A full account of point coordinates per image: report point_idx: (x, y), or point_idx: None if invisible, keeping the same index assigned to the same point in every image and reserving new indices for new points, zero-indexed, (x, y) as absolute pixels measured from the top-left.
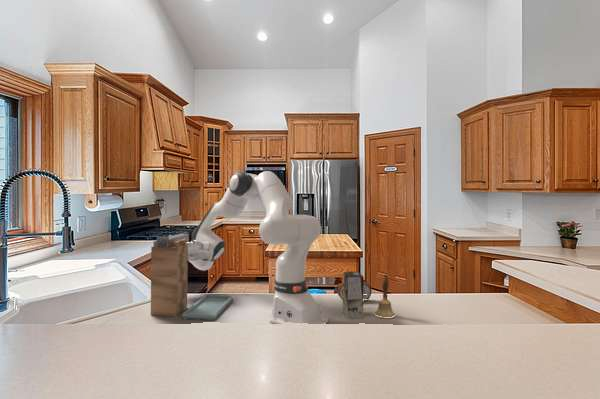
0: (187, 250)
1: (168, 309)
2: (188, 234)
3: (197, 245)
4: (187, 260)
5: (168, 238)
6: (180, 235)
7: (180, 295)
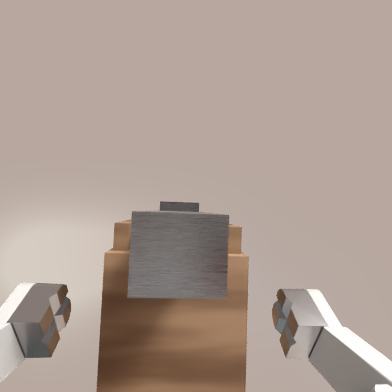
0: (103, 291)
1: None
2: (133, 218)
3: (3, 360)
4: (99, 354)
5: (160, 205)
6: (166, 211)
7: None
